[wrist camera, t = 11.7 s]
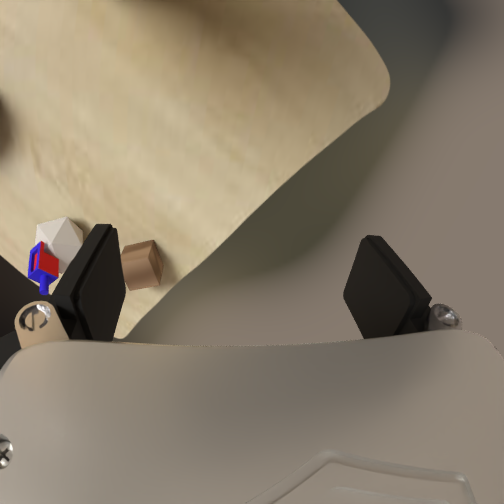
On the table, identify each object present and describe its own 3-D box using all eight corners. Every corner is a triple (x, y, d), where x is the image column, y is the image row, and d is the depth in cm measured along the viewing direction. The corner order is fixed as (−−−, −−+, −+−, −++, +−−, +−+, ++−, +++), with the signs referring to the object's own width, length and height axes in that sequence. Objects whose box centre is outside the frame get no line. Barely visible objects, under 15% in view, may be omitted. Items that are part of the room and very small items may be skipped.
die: (72, 196, 39) (19, 221, 31) (100, 237, 38) (46, 269, 31) (68, 227, 44) (24, 251, 37) (94, 264, 44) (48, 293, 37)
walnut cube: (124, 245, 44) (116, 264, 40) (153, 239, 44) (147, 257, 40) (135, 271, 46) (129, 290, 42) (163, 265, 47) (159, 285, 42)
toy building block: (48, 260, 36) (46, 301, 33) (30, 250, 33) (26, 293, 30) (59, 250, 36) (58, 293, 32) (40, 240, 32) (37, 284, 29)
